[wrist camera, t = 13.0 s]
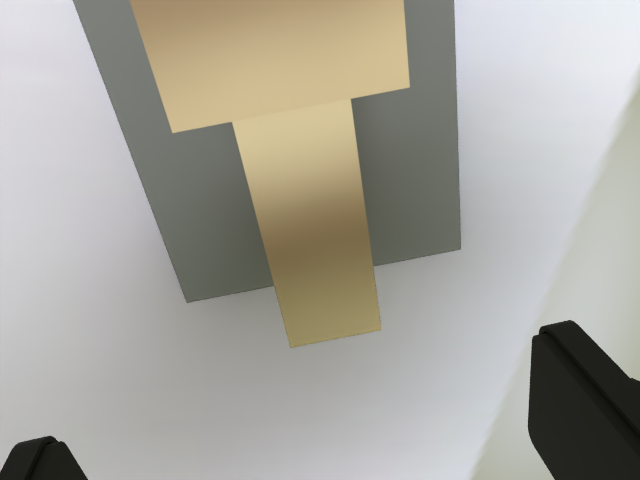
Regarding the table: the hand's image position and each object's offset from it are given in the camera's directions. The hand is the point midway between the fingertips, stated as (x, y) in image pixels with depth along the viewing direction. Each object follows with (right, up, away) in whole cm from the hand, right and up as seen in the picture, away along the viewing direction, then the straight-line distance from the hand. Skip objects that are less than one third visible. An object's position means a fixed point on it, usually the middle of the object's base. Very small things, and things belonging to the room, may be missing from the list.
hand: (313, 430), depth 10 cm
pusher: (-1, +10, +8) cm, 13 cm away
